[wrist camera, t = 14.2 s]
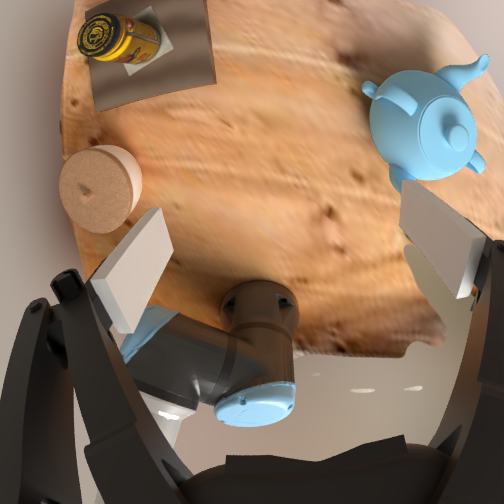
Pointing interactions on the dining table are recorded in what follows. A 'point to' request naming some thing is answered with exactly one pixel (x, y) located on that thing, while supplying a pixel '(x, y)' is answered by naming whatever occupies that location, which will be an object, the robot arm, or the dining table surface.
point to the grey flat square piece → (165, 67)
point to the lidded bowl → (100, 187)
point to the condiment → (124, 39)
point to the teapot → (425, 122)
